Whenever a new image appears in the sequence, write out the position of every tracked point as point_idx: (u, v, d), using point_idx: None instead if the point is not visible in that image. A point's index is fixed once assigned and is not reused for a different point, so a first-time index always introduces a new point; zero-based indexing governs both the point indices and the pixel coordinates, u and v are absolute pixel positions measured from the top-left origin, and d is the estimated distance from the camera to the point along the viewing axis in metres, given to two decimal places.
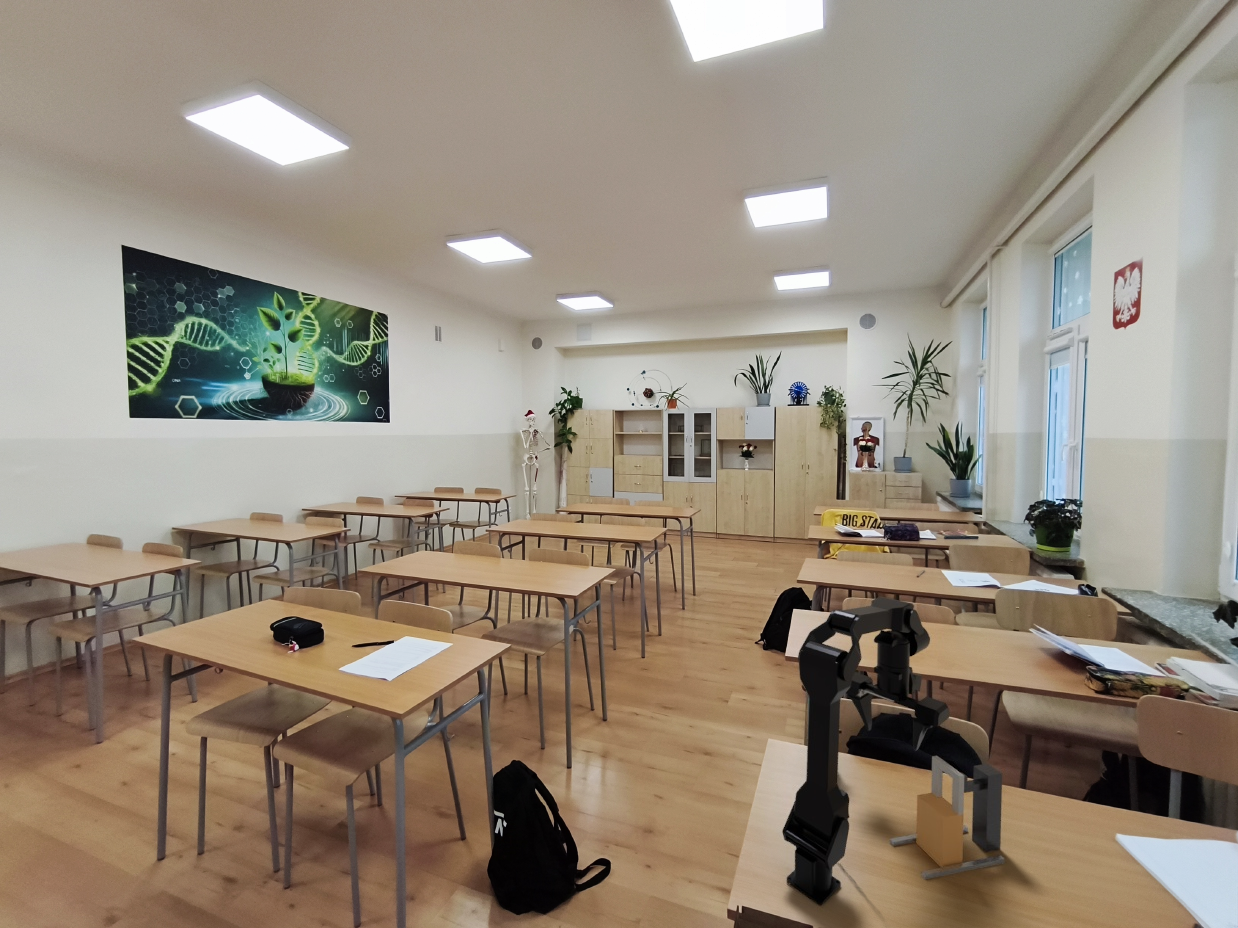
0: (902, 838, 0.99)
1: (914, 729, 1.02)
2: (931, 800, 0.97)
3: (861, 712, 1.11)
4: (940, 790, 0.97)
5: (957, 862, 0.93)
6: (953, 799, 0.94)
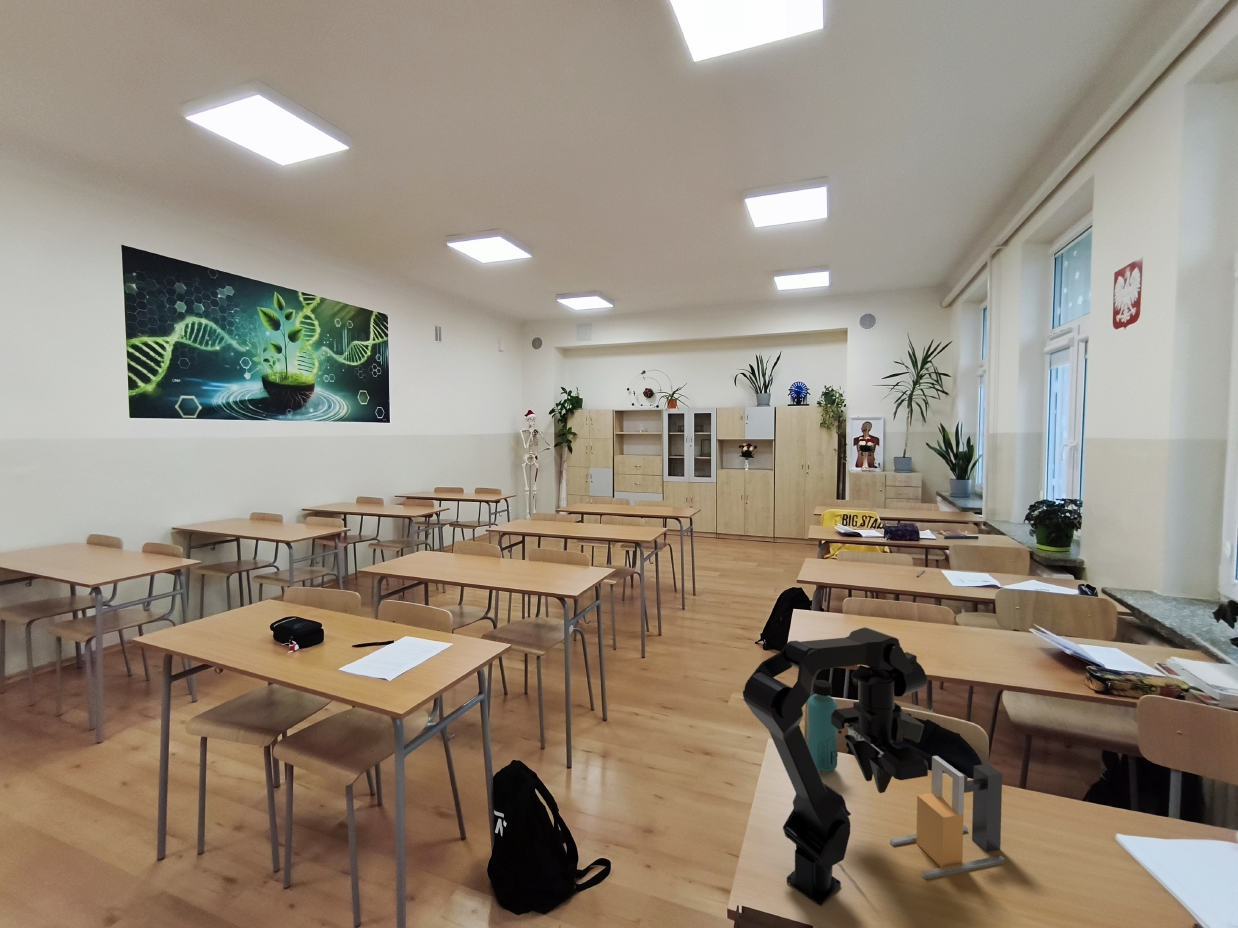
0: (902, 838, 0.99)
1: (872, 768, 0.95)
2: (931, 800, 0.97)
3: (857, 758, 0.99)
4: (940, 790, 0.97)
5: (957, 862, 0.93)
6: (953, 799, 0.94)
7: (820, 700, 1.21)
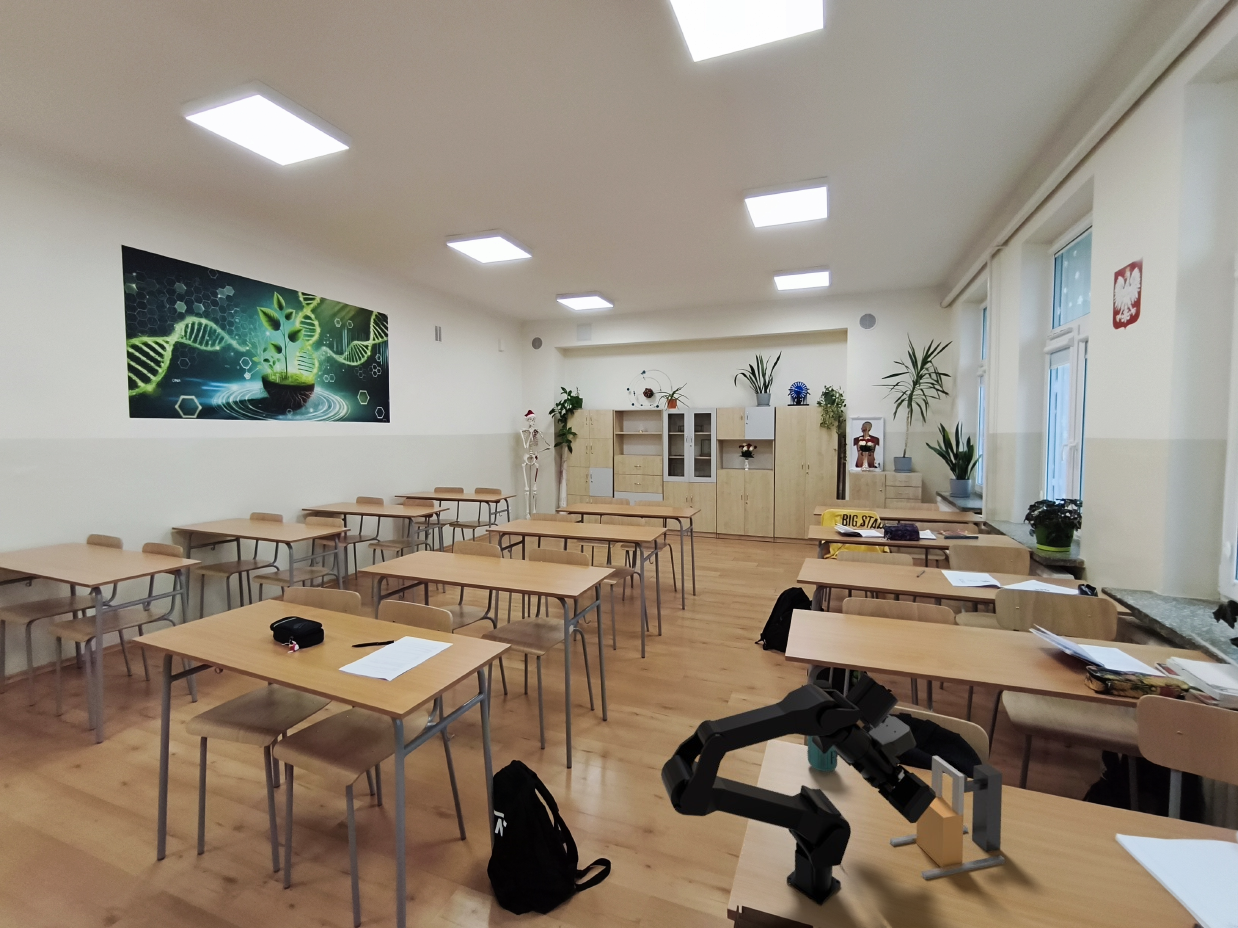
0: (902, 838, 0.99)
1: None
2: None
3: None
4: (940, 790, 0.97)
5: (957, 862, 0.93)
6: (953, 799, 0.94)
7: None
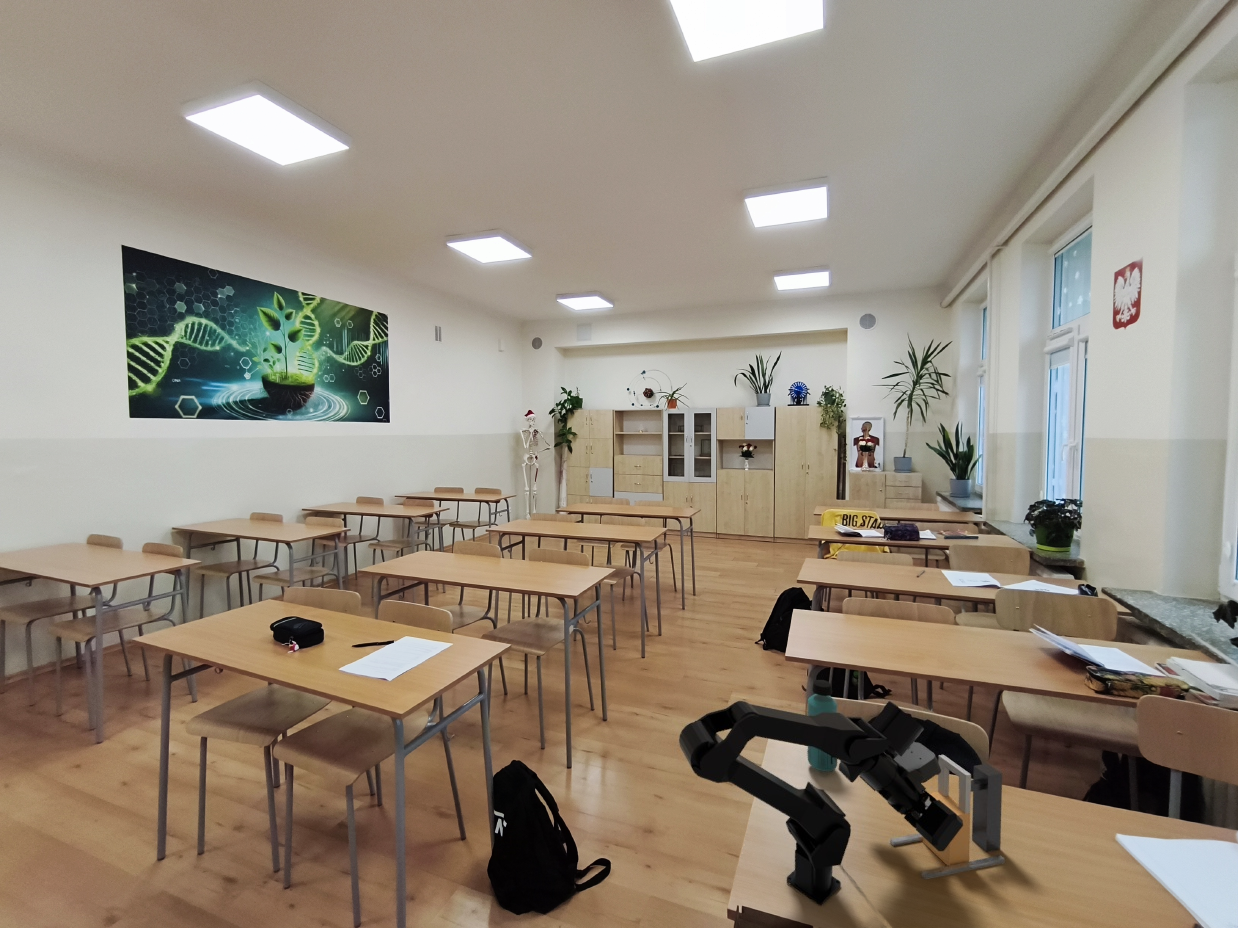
0: (902, 838, 0.99)
1: None
2: (938, 799, 0.97)
3: None
4: (946, 789, 0.98)
5: (964, 861, 0.94)
6: (960, 798, 0.94)
7: (820, 700, 1.21)
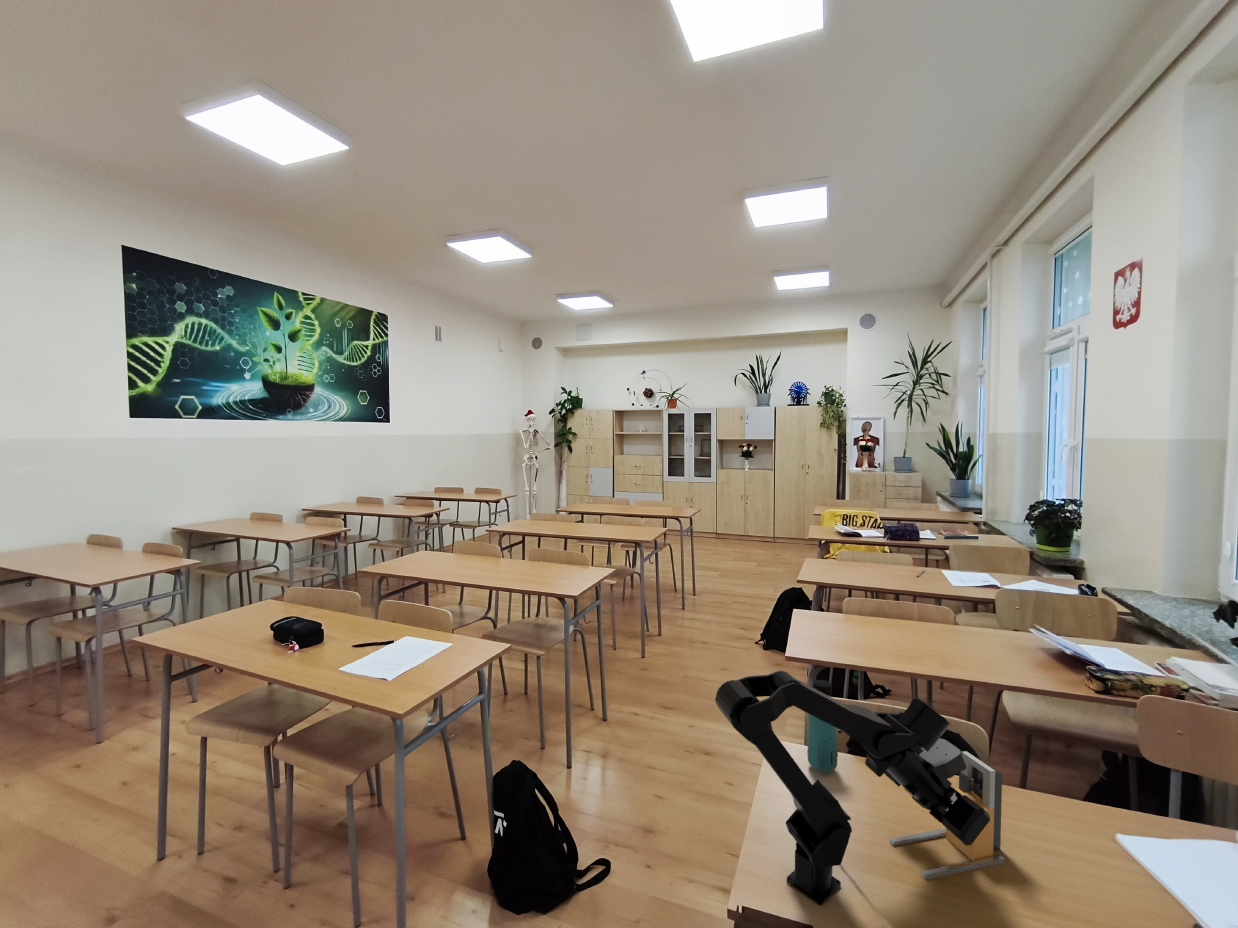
0: (902, 838, 0.99)
1: None
2: None
3: None
4: None
5: (988, 856, 0.95)
6: (984, 794, 0.95)
7: None
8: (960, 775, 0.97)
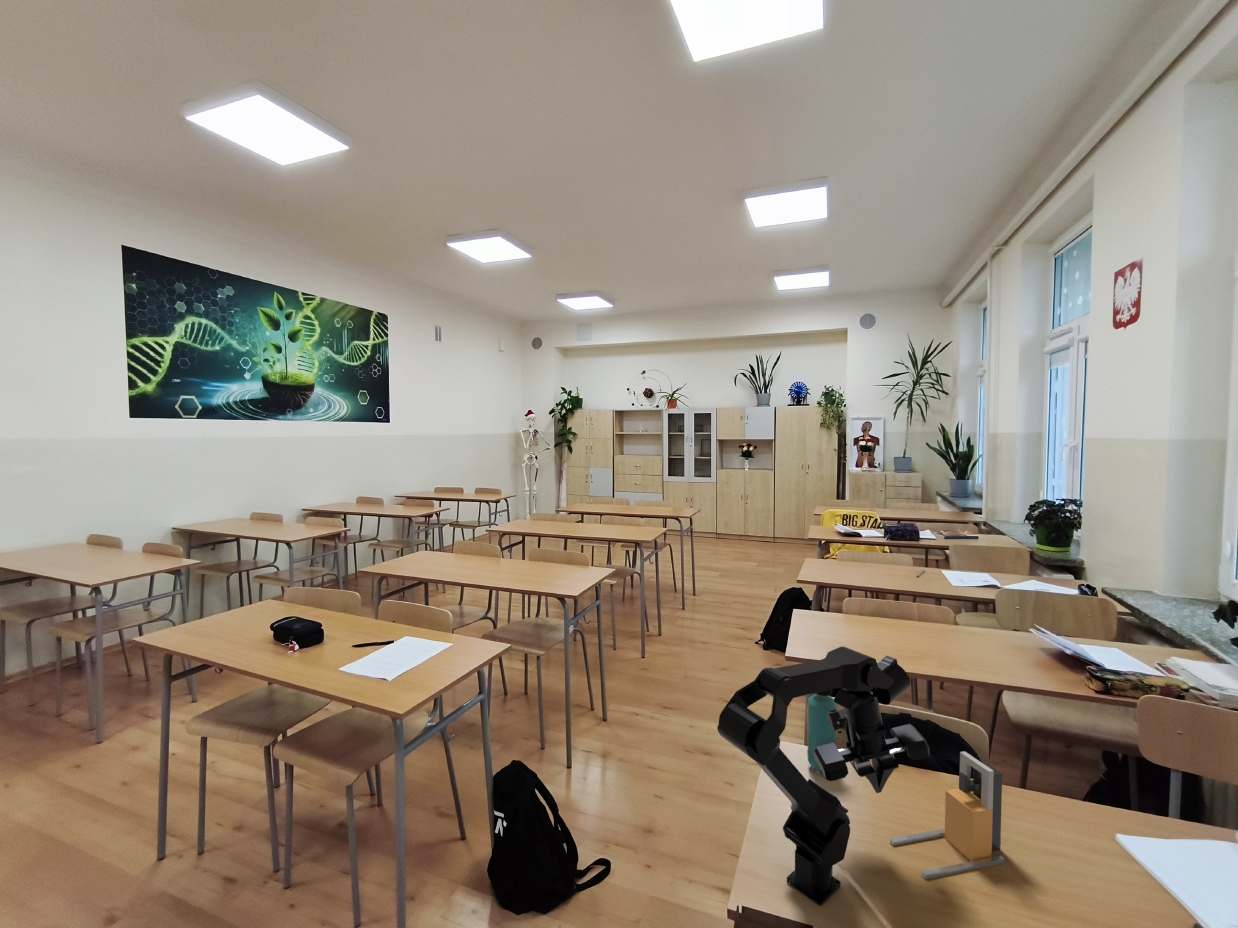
0: (902, 838, 0.99)
1: (884, 776, 0.96)
2: (960, 795, 0.98)
3: (874, 781, 0.96)
4: None
5: (986, 856, 0.95)
6: (982, 794, 0.95)
7: (820, 700, 1.21)
8: (960, 775, 0.97)
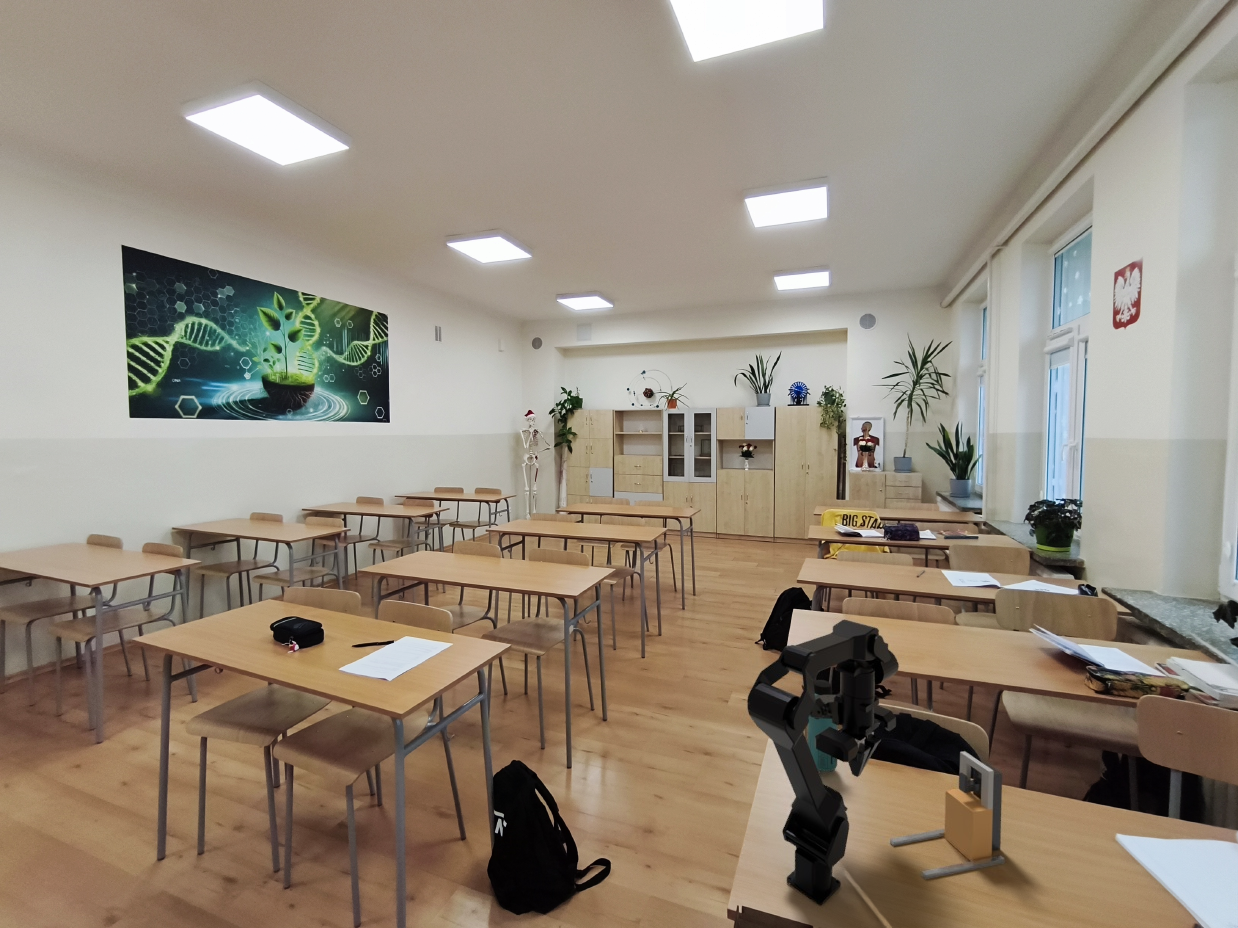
0: (902, 838, 0.99)
1: (871, 752, 0.98)
2: (960, 795, 0.98)
3: (864, 760, 0.97)
4: None
5: (986, 856, 0.95)
6: (982, 794, 0.95)
7: None
8: (960, 775, 0.97)
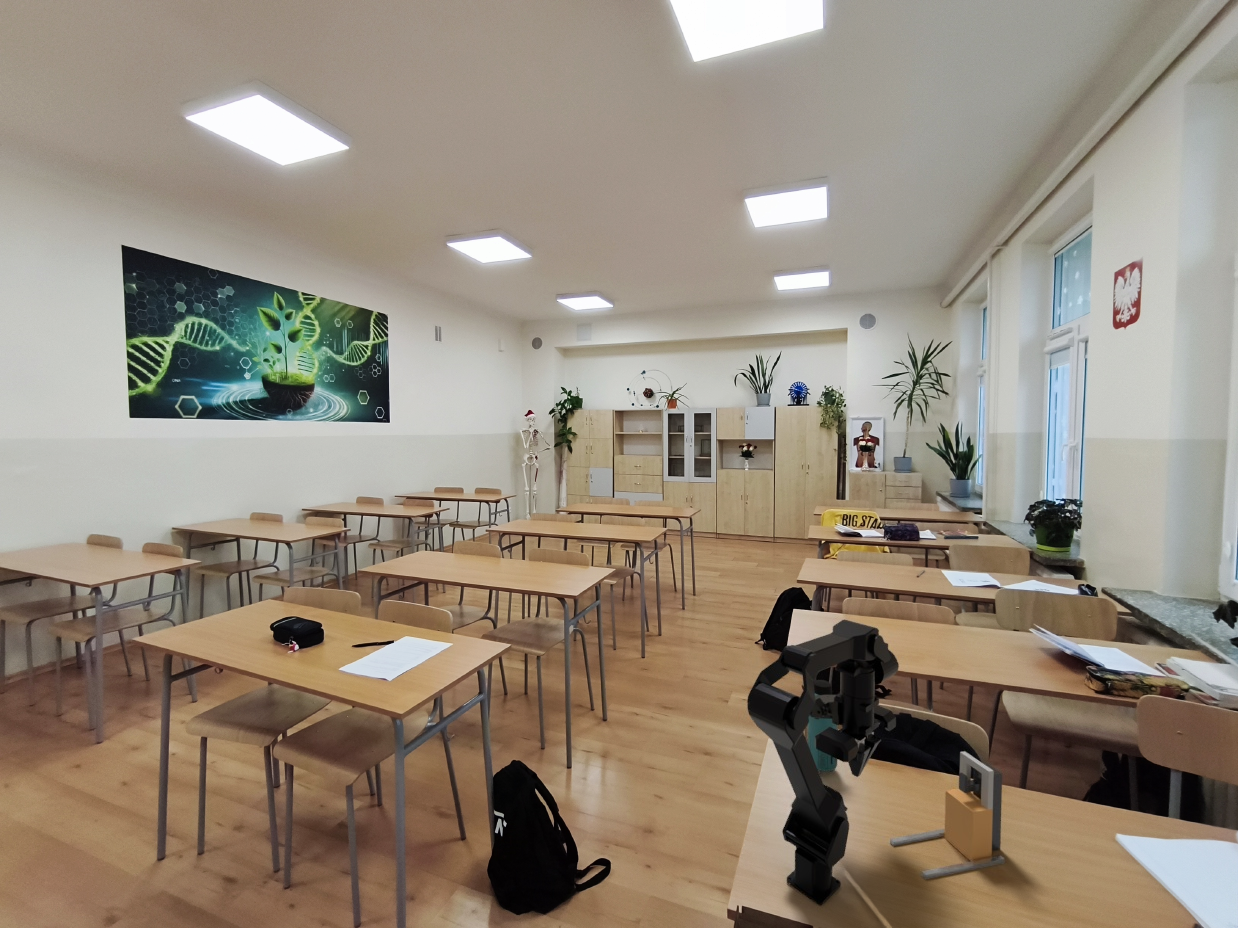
0: (902, 838, 0.99)
1: (871, 752, 0.98)
2: (960, 795, 0.98)
3: (864, 760, 0.97)
4: None
5: (986, 856, 0.95)
6: (982, 794, 0.95)
7: None
8: (960, 775, 0.97)
